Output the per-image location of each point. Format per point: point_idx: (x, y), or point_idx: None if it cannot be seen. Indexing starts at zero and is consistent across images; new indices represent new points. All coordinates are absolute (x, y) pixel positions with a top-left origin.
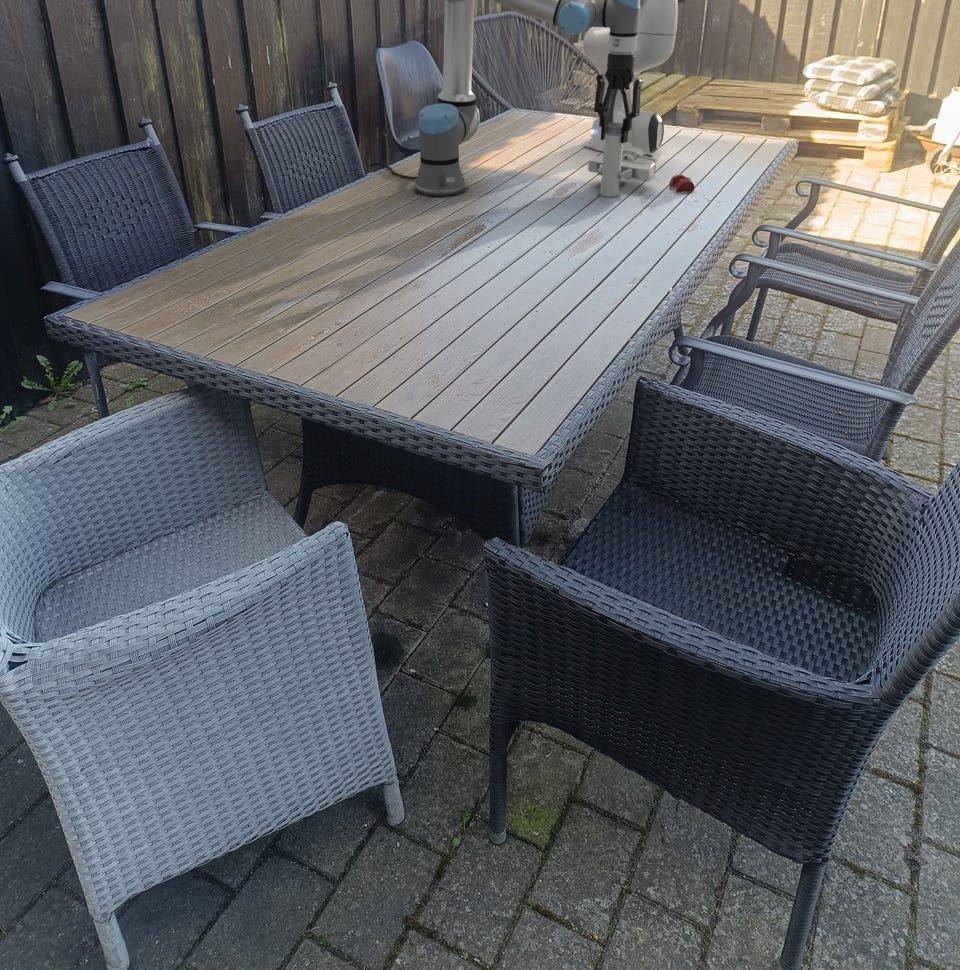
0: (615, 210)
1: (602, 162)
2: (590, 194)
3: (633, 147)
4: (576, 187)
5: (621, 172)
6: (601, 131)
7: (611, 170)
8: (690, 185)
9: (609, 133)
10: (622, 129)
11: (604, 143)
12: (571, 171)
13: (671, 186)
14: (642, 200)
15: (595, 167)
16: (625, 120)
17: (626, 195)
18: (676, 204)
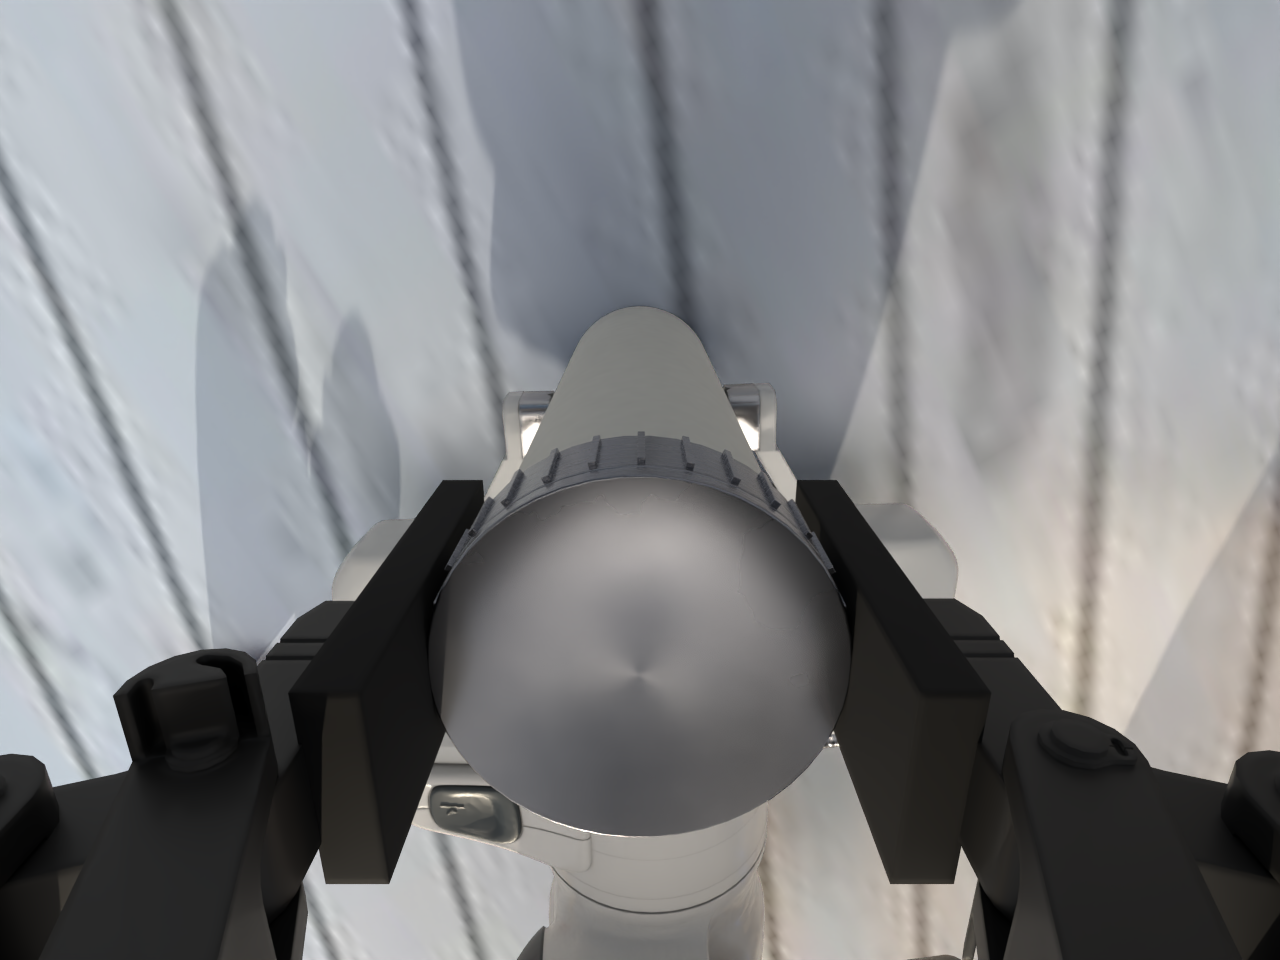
0: (378, 4)
1: None
2: (761, 288)
3: (655, 886)
4: (934, 387)
5: (523, 416)
6: (867, 530)
7: (596, 351)
8: None
9: (651, 438)
10: (422, 569)
11: (752, 456)
12: (1110, 693)
13: None
14: (363, 384)
15: None
16: (301, 679)
17: None
18: (128, 440)
